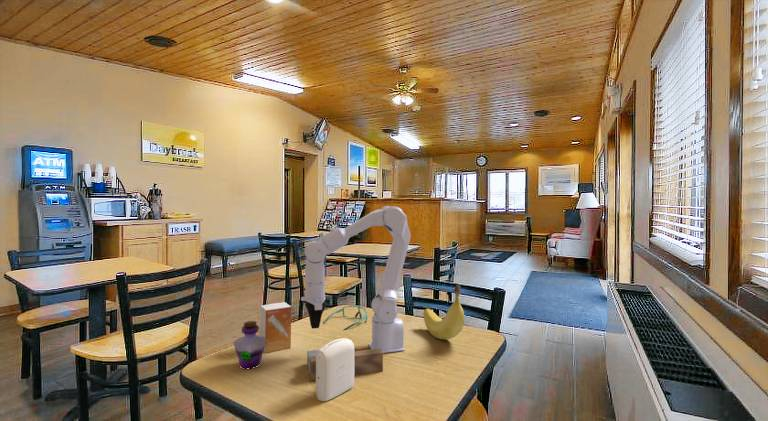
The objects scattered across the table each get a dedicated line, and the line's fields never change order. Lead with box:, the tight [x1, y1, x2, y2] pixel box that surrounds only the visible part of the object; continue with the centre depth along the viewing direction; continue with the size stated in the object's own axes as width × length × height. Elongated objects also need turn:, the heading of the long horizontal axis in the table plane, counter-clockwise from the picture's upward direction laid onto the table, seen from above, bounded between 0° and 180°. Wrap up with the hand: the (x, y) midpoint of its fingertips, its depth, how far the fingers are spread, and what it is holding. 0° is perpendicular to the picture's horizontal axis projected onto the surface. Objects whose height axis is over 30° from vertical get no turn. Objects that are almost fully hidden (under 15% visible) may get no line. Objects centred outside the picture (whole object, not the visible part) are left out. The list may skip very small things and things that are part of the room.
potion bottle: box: [233, 320, 267, 370], centre depth 104 cm, size 9×9×12 cm
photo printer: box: [315, 337, 355, 402], centre depth 90 cm, size 10×4×12 cm, turn 140°
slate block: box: [306, 349, 319, 373], centre depth 102 cm, size 6×7×4 cm
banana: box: [422, 284, 465, 340], centre depth 126 cm, size 23×6×20 cm, turn 22°
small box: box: [259, 301, 292, 353], centre depth 116 cm, size 8×6×13 cm
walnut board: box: [309, 349, 384, 382], centre depth 100 cm, size 19×3×5 cm, turn 108°
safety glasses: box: [323, 304, 368, 331], centre depth 141 cm, size 14×15×5 cm
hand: (315, 327), depth 112 cm, fingers closed
